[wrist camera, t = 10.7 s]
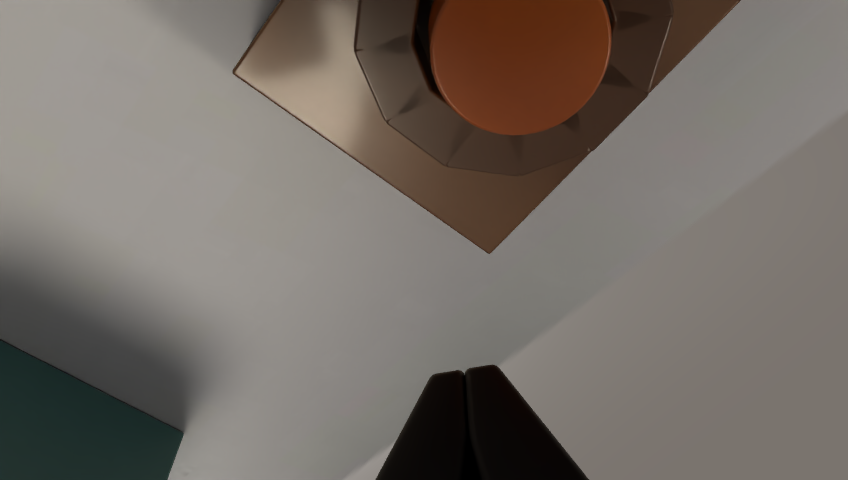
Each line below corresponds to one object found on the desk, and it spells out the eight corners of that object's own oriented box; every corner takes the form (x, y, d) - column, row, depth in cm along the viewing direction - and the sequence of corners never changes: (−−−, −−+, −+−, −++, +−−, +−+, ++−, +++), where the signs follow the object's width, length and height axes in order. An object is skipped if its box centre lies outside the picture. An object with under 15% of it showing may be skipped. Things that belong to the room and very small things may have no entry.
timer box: (509, -334, 15) (538, -375, 12) (756, -71, 18) (839, -40, 14) (248, 46, 19) (212, 100, 16) (482, 216, 22) (496, 294, 18)
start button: (503, -99, 14) (515, -88, 13) (627, 14, 15) (651, 37, 14) (394, 40, 15) (393, 65, 14) (515, 135, 16) (526, 168, 15)
